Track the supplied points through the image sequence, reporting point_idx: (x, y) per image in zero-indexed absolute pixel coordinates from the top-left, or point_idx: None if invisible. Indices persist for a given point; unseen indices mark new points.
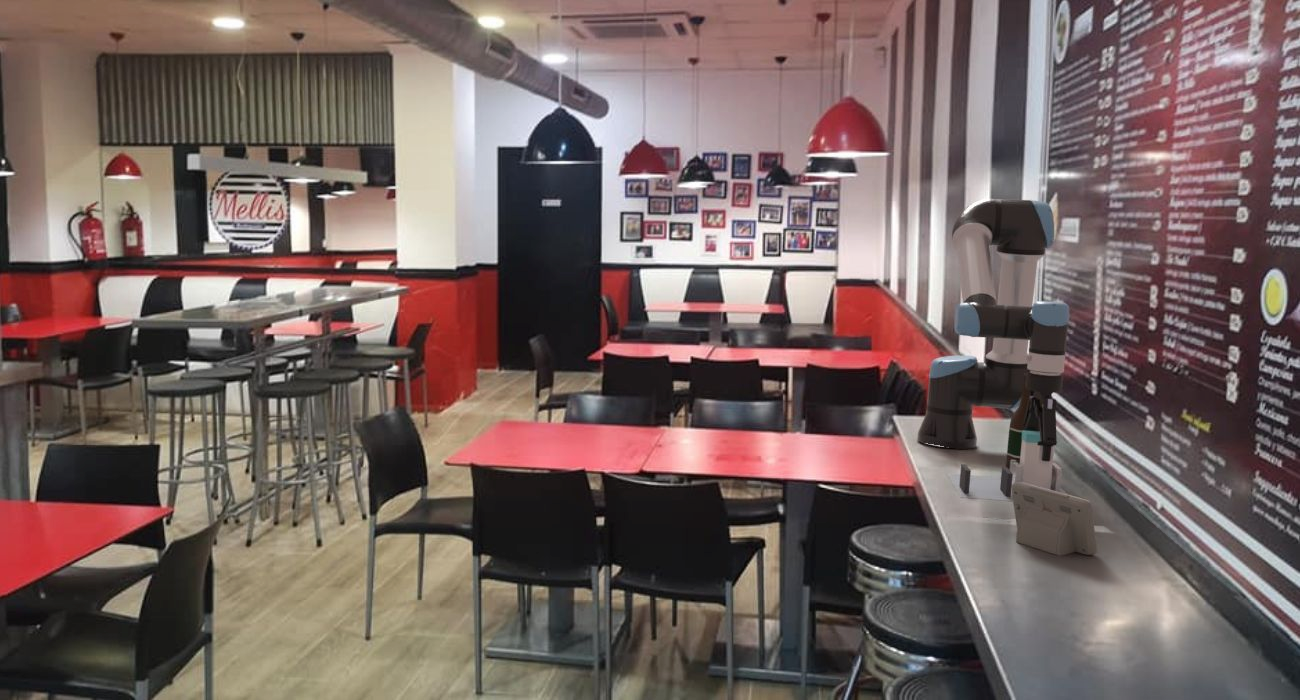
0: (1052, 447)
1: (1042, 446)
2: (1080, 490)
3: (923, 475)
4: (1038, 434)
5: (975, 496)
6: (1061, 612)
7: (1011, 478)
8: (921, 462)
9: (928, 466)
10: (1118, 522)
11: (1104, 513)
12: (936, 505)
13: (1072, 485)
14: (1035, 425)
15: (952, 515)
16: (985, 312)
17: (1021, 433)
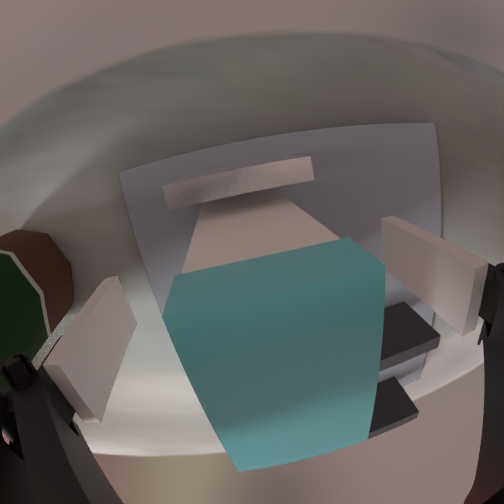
0: (482, 262)
1: (475, 314)
2: (144, 82)
3: (224, 451)
4: (355, 397)
5: (413, 361)
6: None
7: (432, 329)
8: (112, 451)
9: (135, 446)
10: (463, 61)
11: (415, 61)
12: (435, 389)
13: (84, 114)
14: (64, 429)
15: (476, 356)
16: None
17: (2, 382)
